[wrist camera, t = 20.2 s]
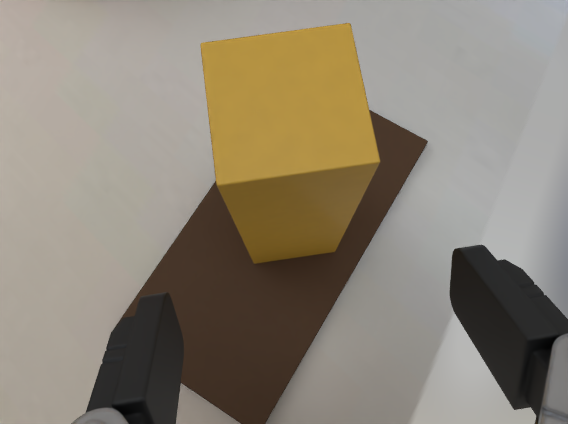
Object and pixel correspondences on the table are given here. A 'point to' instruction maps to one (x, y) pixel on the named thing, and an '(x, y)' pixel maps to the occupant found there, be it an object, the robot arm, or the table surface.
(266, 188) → the block
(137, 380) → the robot arm
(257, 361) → the mat
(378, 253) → the table surface
